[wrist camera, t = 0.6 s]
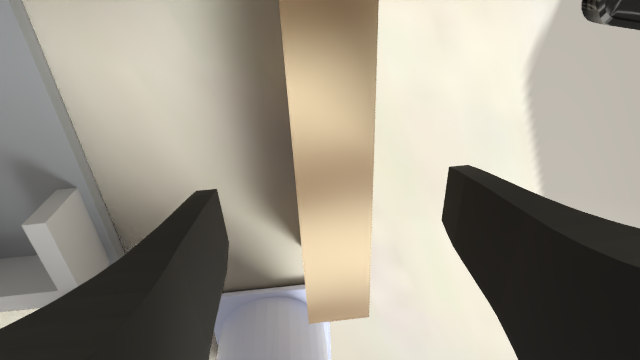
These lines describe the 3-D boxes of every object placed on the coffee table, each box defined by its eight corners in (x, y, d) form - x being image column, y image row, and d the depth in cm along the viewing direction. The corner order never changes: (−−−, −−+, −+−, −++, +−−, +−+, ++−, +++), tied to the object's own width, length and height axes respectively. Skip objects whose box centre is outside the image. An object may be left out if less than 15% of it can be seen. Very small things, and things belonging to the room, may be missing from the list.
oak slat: (348, 239, 23) (368, 316, 18) (301, 244, 23) (308, 323, 18) (345, -59, 15) (380, -73, 10) (273, -56, 15) (272, -68, 10)
